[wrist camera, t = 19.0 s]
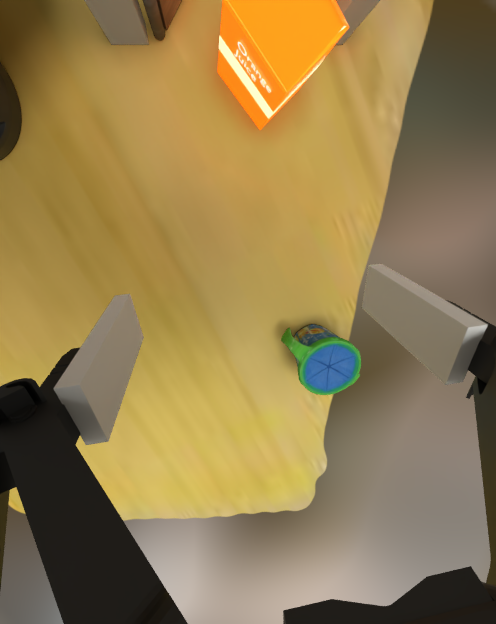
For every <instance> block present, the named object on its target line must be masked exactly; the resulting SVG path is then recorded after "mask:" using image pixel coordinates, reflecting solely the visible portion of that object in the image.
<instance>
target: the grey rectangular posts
mask: <svg viewBox="0 0 496 624" xmlns="http://www.w3.org/2000/svg"><path fill="white" fill-rule="evenodd" d="M84 1H85V2H86V4H87V6H88V7H89V9H90V11H91V12H92V14H93V15H94V17H95V19H96V20H97V22H98V24H99V25H100V27H101V28H102V30H103V32H104V33H105V35H106V37H107V38H108V40H109V41H110V43H111V45H149V43H148V36H147V29H146V23H145V20H144V17H143V15H142V12H141V9H140V6H139V3H138V0H84ZM379 1H380V0H337V4H338V6H339V8H340V10H341V12H342V14H343V16H344V18H345V19H346V21H347V23H348V25H349V28H348V30H347V31H346V32H345V33H344V35H343V36H342V37H341V38H340V40H339V41H338V42H337V43H336V45H343V43H344V42H345V41H346V40H347V39H348V38H349V36H350V35H351V34H352V33H353V32H354V31H355V29H356V28H357V27H358V26H359V25H360V23H361V22H362V21H363V20H364V19H365V18H366V16H367V15H368V14H369V13H370V12H371V11H372V9H373V8H374V7H375V6H376V5H377V4H378V2H379Z"/></svg>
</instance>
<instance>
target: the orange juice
mask: <svg viewBox="0 0 496 624" xmlns="http://www.w3.org/2000/svg"><path fill="white" fill-rule="evenodd" d="M348 28H349V25H348V23H347V21H346V19H345V18H344V16H343V14H342V12H341V10H340V8H339V6H338V4H337V2H336V0H223V1H222V15H221V30H220V36H219V58H218V74H219V75H220V76H221V78H222V79H223V80H224V82H225V83H226V84H227V86H228V87H229V89H230V90H231V91H232V93H233V94H234V95H235V97H236V98H237V100H238V101H239V102H240V104H241V105H242V106H243V108H244V109H245V110H246V112H247V113H248V115H249V116H250V117H251V119H252V120H253V121H254V123H255V124H256V126H257V127H258V128H259V130H261V129H262V128H263V127H264V126H265V125H266V124H267V123H268V122H269V121H270V119H271V118H272V117H273V116H274V115H275V114H276V113H277V112H278V111H279V110H280V109H281V108H282V107H283V106H284V105H285V104H286V103H287V102H288V101H289V100H290V99H291V98H292V96H293V95H294V94H295V93H296V92H297V91H298V90H299V89H300V88H301V87H302V85H303V84H304V83H305V82H306V80H307V79H308V78H309V77H310V76H311V74H312V73H313V72H314V71H315V70H316V69H317V68H318V66H319V65H320V64H321V63H322V61H323V60H324V58H325V57H326V56H327V54H328V53H329V52H330V51H331V49H332V48H333V47H334V46H335V45H336V43H337V42H338V41H339V40H340V38H341V37H342V36H343V35H344V33H345V32H346V31H347V30H348Z"/></svg>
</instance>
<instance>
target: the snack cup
mask: <svg viewBox="0 0 496 624" xmlns="http://www.w3.org/2000/svg"><path fill="white" fill-rule="evenodd" d="M281 341H282V342H283V343H284V344H285V345H286V346H287V347H288V348H289V350H290V351H291V352H292V353H293V354H294V356H295V358H296V361H297V366H298V375H299V380H300V382H301V384H302V385H304V386H305V388H306V389H308V390H309V391H310V392H312V393H315V394H319V395H330V394H334V393H337V392H340V391H342V390H343V389H345V388H347V387H348V386H349V385H352V384H353V383H354V382H355V381H356V380H357V379H358V378H359V376H360V374H359V371H360V367H361V357H360V353H359V350H357V349H356V348H355V347H354V346H353V345H352V344H351V343H350V342H349V341H347V340H345V339H342V338H340V337H338V336H337V335H335V334H334V333H332V332H330V331H329V330H327V329H326V328H324V327H322V326H318V325H313V324H311V325H309V326H306V327H304V328H302V329H301V330H299V331H298V332H297V333H296V334H295V337H293V336H292V334H291V330H290V328H288V329H287V330H286V331H285V333H284V334H283V336H282V338H281Z"/></svg>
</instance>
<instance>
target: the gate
mask: <svg viewBox="0 0 496 624" xmlns="http://www.w3.org/2000/svg"><path fill="white" fill-rule="evenodd" d="M181 1H182V0H143V3H144V6H145V9H146V12H147V15H148V18H149V21H150V24H151V28H152V31H153V34H154V36H155V38H156V39H158V40H163V39H164V37H165V31H164V28H165V29H166V30H167V29H168V27H169V25H170V23H171V21H172V19H173V17H174V15H175V13H176V11H177V9H178V7H179V5H180V3H181Z"/></svg>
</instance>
